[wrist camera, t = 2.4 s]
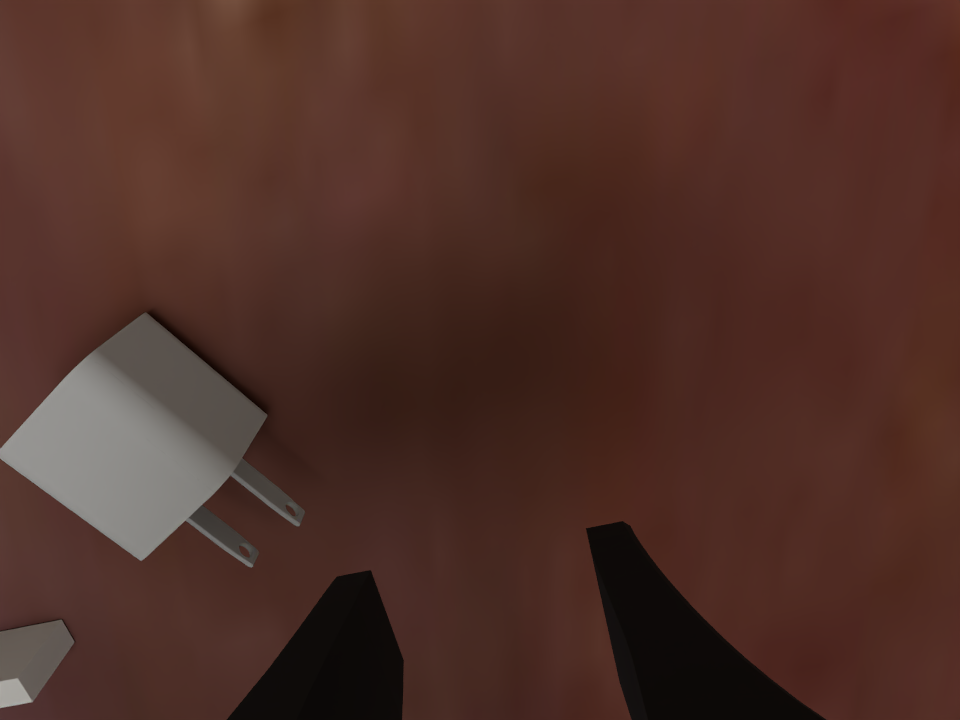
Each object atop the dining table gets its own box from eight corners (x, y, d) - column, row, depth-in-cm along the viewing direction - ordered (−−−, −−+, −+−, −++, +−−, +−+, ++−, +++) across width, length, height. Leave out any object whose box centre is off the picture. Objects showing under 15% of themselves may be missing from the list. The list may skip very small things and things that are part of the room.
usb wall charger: (154, 305, 20) (80, 360, 17) (338, 462, 22) (309, 543, 19) (71, 395, 21) (-15, 465, 18) (254, 537, 23) (210, 627, 20)
